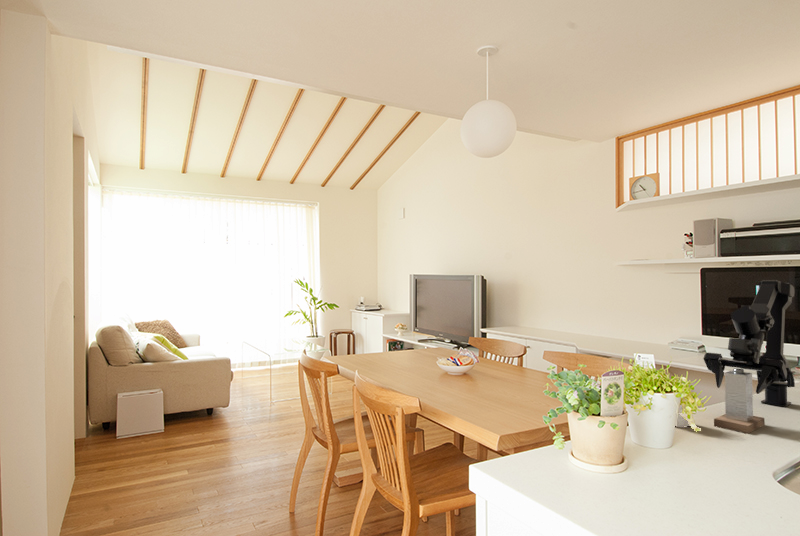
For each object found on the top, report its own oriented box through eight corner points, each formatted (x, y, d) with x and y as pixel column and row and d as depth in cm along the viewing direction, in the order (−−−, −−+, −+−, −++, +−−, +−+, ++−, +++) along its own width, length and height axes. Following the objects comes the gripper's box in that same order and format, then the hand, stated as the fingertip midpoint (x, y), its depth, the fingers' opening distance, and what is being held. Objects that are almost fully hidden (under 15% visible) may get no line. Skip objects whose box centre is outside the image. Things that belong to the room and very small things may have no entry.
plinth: (731, 418, 140) (731, 411, 140) (764, 425, 134) (764, 417, 134) (714, 426, 133) (713, 418, 133) (748, 433, 127) (747, 425, 127)
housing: (731, 414, 137) (731, 367, 137) (753, 418, 133) (752, 369, 134) (725, 418, 134) (724, 369, 134) (747, 422, 130) (746, 371, 130)
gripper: (705, 325, 144) (691, 366, 137) (783, 330, 129) (772, 377, 122) (715, 349, 149) (702, 390, 142) (791, 356, 134) (781, 403, 127)
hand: (737, 389), depth 133 cm, fingers open, 9 cm apart
